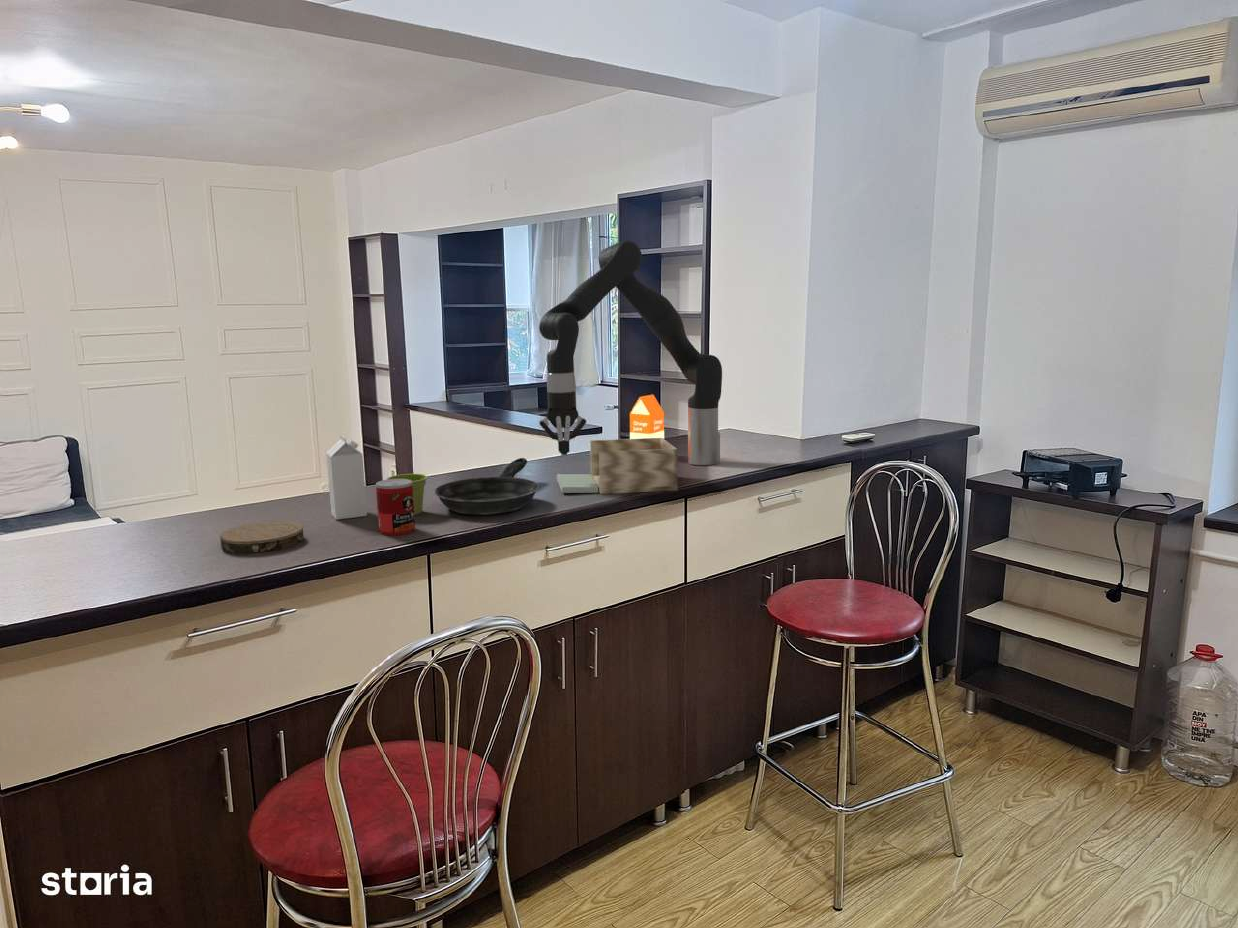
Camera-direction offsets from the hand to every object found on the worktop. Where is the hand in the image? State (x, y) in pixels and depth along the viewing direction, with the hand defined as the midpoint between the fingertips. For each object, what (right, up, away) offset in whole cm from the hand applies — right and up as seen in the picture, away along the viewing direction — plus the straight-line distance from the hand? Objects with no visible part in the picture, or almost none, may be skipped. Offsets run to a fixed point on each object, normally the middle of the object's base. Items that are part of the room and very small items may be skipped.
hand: (564, 454), depth 218 cm
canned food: (-34, -17, -39) cm, 55 cm away
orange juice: (+24, -1, +44) cm, 50 cm away
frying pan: (-16, -12, -11) cm, 23 cm away
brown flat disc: (-60, -20, -47) cm, 79 cm away
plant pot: (-35, -15, -23) cm, 45 cm away
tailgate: (+8, -7, +3) cm, 11 cm away
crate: (+18, -8, +4) cm, 20 cm away
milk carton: (-49, -15, -24) cm, 57 cm away
